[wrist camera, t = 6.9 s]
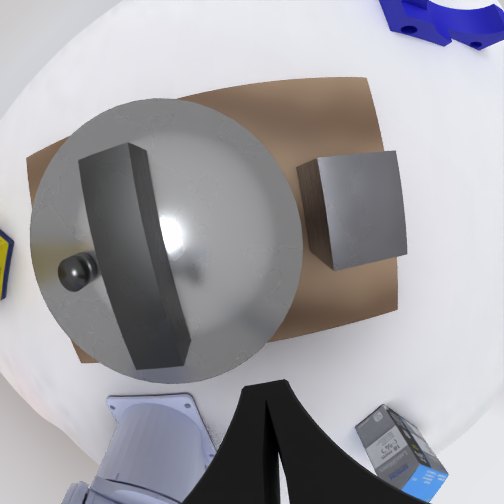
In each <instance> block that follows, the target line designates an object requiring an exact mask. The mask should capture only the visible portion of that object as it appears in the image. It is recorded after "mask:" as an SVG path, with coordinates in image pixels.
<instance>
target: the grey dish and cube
mask: <svg viewBox="0 0 504 504" xmlns="http://www.w3.org/2000/svg"><path fill="white" fill-rule="evenodd" d="M296 170H297V176H298V181H299V187H300V193H301V198H302V204H303V210H304V216H305V223H306V229H307V236H308V243H309V249H310V252H312V253H313V254H314V255H315V256H316V257H318V258H319V259H320V260H321V261H322V262H323V263H325V264H326V265H327V266H328V267H329V268H331V269H332V270H333V271H338V270H342V269H347V268H351V267H355V266H360V265H364V264H368V263H373V262H377V261H381V260H385V259H389V258H394V257H398V256H402V255H406V254H407V238H406V224H405V213H404V204H403V195H402V187H401V180H400V173H399V167H398V161H397V155H396V151H382V152H369V153H357V154H347V155H338V156H329V157H320V158H316V159H313V160H311V161H309V162H306V163H304V164H302V165H299V166H297V167H296Z"/></svg>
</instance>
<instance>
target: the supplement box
mask: <svg viewBox="0 0 504 504" xmlns="http://www.w3.org/2000/svg"><path fill="white" fill-rule="evenodd" d="M13 244H14V242H13V241H12V240H11V239H10V238H9V237H8V236H6V235H5V234H4V233H3V232H2V231H0V300H2V299H4V298H5V297H6V289H7V280H8V273H9V266H10V260H11V255H12V248H13Z"/></svg>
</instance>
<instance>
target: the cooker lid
mask: <svg viewBox="0 0 504 504" xmlns="http://www.w3.org/2000/svg"><path fill="white" fill-rule="evenodd" d="M30 249H31V257H32V264H33V268H34V272H35V276H36V280H37V283H38V286H39V288H40V291H41V294H42V296H43V298H44V300H45V302H46V304H47V306H48V308H49V310H50V312H51V313H52V315H53V317H54V318H55V320H56V321H57V323H58V324H59V325H60V327H61V328H62V329H63V330H64V332H65V333H66V334H67V335H68V337H69V338H70V339H71V340H72V341H73V342H74V343H75V344H76V345H77V346H79V347H80V348H81V349H82V350H83V351H84V352H86V353H87V354H88V355H89V356H91V357H92V358H93V359H95V360H97V361H98V362H100V363H101V364H103V365H105V366H106V367H108V368H110V369H112V370H114V371H116V372H119V373H121V374H123V375H126V376H129V377H132V378H135V379H139V380H144V381H148V382H154V383H165V384H180V383H190V382H196V381H202V380H205V379H209V378H212V377H215V376H218V375H220V374H223V373H225V372H227V371H229V370H232V369H234V368H235V367H237V366H238V365H240V364H242V363H243V362H245V361H247V360H248V359H249V358H250V357H252V356H253V355H254V354H255V353H256V352H258V351H259V350H260V349H261V348H262V347H263V346H264V345H265V344H266V343H267V342H268V341H269V339H270V338H271V337H272V336H273V335H274V333H275V332H276V331H277V329H278V328H279V326H280V325H281V323H282V322H283V320H284V318H285V316H286V314H287V312H288V310H289V308H290V306H291V304H292V302H293V299H294V296H295V293H296V290H297V287H298V283H299V278H300V273H301V268H302V254H303V240H302V228H301V221H300V217H299V213H298V208H297V204H296V201H295V198H294V196H293V193H292V191H291V188H290V185H289V183H288V181H287V179H286V177H285V176H284V174H283V172H282V170H281V168H280V167H279V165H278V163H277V162H276V161H275V159H274V158H273V157H272V155H271V154H270V153H269V151H268V150H267V149H266V147H265V146H264V145H263V144H262V143H261V142H260V141H259V140H258V139H257V138H256V137H255V136H254V135H253V134H252V133H251V132H249V131H248V130H247V129H245V128H244V127H243V126H241V125H240V124H239V123H237V122H236V121H234V120H233V119H232V118H230V117H228V116H226V115H224V114H222V113H220V112H218V111H216V110H214V109H212V108H209V107H206V106H203V105H200V104H197V103H194V102H189V101H183V100H177V99H156V98H155V99H146V100H139V101H133V102H130V103H126V104H123V105H119V106H116V107H114V108H112V109H110V110H107V111H105V112H103V113H101V114H99V115H98V116H96V117H94V118H93V119H91V120H90V121H88V122H87V123H85V124H84V125H83V126H81V127H80V128H79V129H78V130H77V131H76V132H74V133H73V134H72V135H71V136H70V137H69V138H68V139H67V140H66V142H65V143H64V144H63V145H62V146H61V147H60V148H59V150H58V151H57V153H56V154H55V156H54V157H53V159H52V160H51V162H50V163H49V165H48V167H47V169H46V171H45V173H44V175H43V177H42V179H41V182H40V184H39V187H38V190H37V193H36V196H35V200H34V204H33V209H32V215H31V224H30Z"/></svg>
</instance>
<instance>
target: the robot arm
mask: <svg viewBox="0 0 504 504" xmlns="http://www.w3.org/2000/svg"><path fill="white" fill-rule="evenodd" d="M105 402H106V404H107V406H108V407H109V409H110V411H111V412H112V414H113V416H114V417H115V419H116V421H117V422H118V426H117V428H116V431H115V433H114V435H113V437H112V440H111V442H110V444H109V447H108V449H107V451H106V454H105V456H104V458H103V461H102V463H101V466H100V468H99V470H98V473H97V475H96V476H95V478H94V480H93V482H92V485H91V487H90V489H88V484H87V483H85V482H83V481H80V482H79V483H72V484H71V485H70V487H69V489H68V491H67V493H66V495H65V497H64V499H63V502H62V504H280V479H279V457H278V452H279V455H280V459H281V462H282V466H283V469H284V473H285V476H286V481H287V488H288V495H289V501H290V504H430V503H428V502H425V501H423V500H421V499H419V498H416V497H414V496H412V495H410V494H407V493H405V492H404V491H402V490H400V489H398V488H396V487H395V486H393V485H391V484H389V483H388V482H386V481H384V480H382V479H381V478H379V477H377V476H376V475H374V474H373V473H371V472H370V471H369V470H367V469H366V468H364V467H363V466H362V465H360V464H359V463H358V462H356V461H355V460H354V459H353V458H351V457H350V456H349V455H348V454H347V453H345V452H344V451H343V450H342V449H341V448H340V447H339V446H338V445H337V444H336V443H335V442H334V441H333V440H332V439H331V438H330V437H329V436H328V435H327V434H326V433H325V432H324V431H323V430H322V429H321V428H320V427H319V426H318V425H317V423H316V422H315V421H314V420H313V419H312V417H311V416H310V415H309V414H308V413H307V411H306V410H305V409H304V407H303V406H302V405H301V403H300V402H299V400H298V399H297V397H296V396H295V394H294V392H293V390H292V389H291V387H290V384H289V382H288V381H287V380H285V379H283V380H278V381H272V382H267V383H261V384H255V385H249V386H244V388H243V389H242V391H241V395H240V399H239V402H238V405H237V408H236V411H235V413H234V416H233V419H232V421H231V423H230V426H229V428H228V430H227V433H226V435H225V437H224V439H223V441H222V443H221V445H220V447H219V449H218V450H217V452H216V449H215V447H214V445H213V443H212V441H211V439H210V437H209V435H208V433H207V430H206V428H205V426H204V424H203V422H202V419H201V417H200V415H199V413H198V410H197V408H196V406H195V403H194V401H193V398H192V397H191V396H190V395H188V394H180V395H165V396H143V397H107V398H106V400H105ZM187 404H190V405H187Z"/></svg>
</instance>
